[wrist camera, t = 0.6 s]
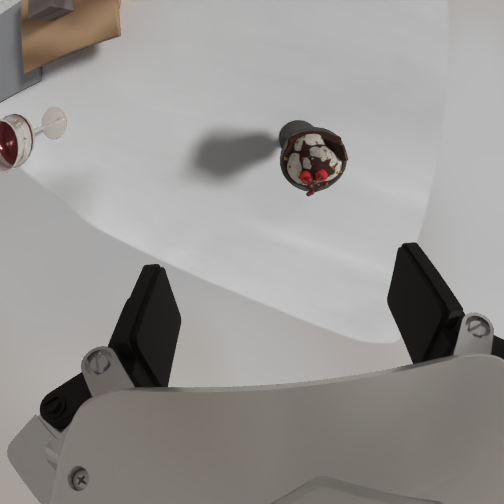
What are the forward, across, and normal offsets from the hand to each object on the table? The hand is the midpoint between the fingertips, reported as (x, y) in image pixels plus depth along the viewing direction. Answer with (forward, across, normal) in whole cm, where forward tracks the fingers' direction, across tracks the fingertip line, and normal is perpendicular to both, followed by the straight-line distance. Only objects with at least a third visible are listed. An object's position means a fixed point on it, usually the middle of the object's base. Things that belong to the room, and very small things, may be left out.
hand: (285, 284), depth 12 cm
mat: (+29, +37, -23) cm, 52 cm away
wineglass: (+29, +29, -7) cm, 42 cm away
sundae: (+29, -5, +1) cm, 30 cm away
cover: (+24, +21, -22) cm, 39 cm away
